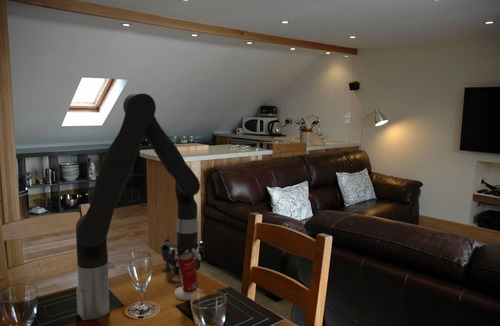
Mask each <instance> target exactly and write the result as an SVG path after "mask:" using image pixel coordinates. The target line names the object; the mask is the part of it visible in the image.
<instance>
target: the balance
mask: <svg viewBox="0 0 500 326" xmlns="http://www.w3.org/2000/svg"><path fill="white" fill-rule="evenodd" d="M174 248H175V247H174ZM176 254H177V251H176ZM176 254H175V255H176ZM172 281H173V282H174V283H181V276H180V269H179V276H176V275H174V276H173V277H172Z"/></svg>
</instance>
